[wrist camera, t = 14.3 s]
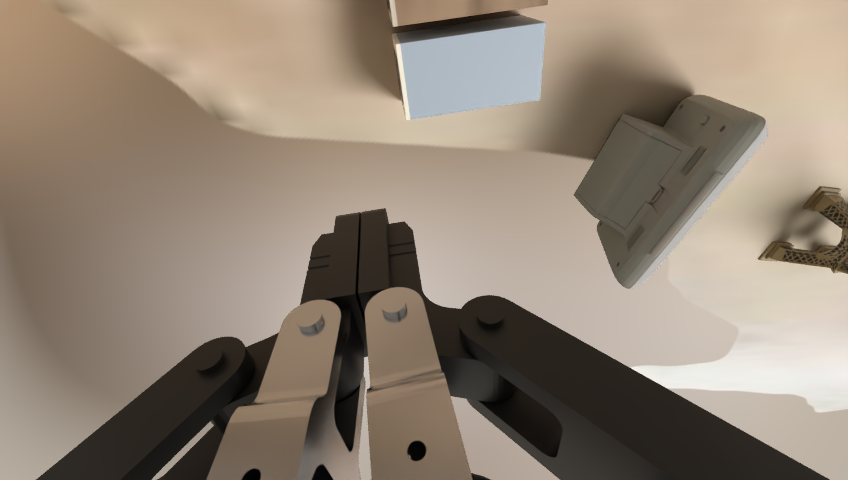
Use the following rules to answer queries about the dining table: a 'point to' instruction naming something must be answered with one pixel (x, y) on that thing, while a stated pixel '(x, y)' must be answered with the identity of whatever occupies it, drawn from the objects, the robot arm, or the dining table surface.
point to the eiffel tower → (837, 257)
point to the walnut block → (450, 9)
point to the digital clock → (664, 179)
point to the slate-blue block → (469, 65)
